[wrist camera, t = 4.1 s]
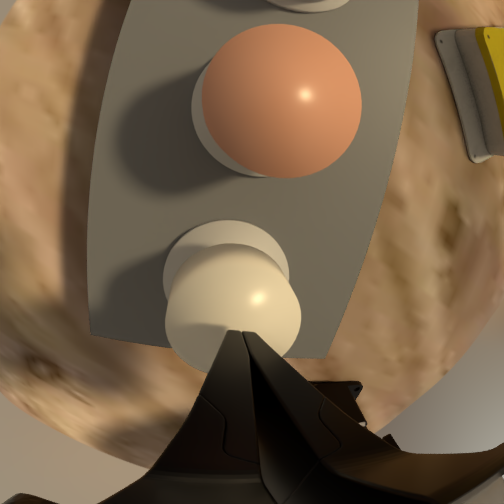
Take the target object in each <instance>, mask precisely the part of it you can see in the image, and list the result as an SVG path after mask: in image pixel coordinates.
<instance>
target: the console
mask: <svg viewBox="0 0 504 504" xmlns="http://www.w3.org/2000/svg"><path fill="white" fill-rule="evenodd" d="M418 3H419V0H131V2H130V5H129V8H128V11H127V13H126V16H125V19H124V22H123V25H122V28H121V31H120V35H119V38H118V41H117V45H116V48H115V51H114V55H113V59H112V62H111V66H110V70H109V74H108V78H107V83H106V87H105V91H104V96H103V101H102V106H101V111H100V116H99V122H98V128H97V134H96V140H95V147H94V155H93V163H92V171H91V181H90V193H89V207H88V226H87V287H88V307H89V321H90V332H91V335H95V336H100V337H105V338H110V339H116V340H121V341H127V342H133V343H139V344H146V345H152V346H159V347H166V348H172V347H171V345H170V343H169V341H168V338H167V335H166V329H165V317H166V311H167V306H168V300H169V294H170V288H171V284H172V281H173V278H174V276H175V274H176V272H177V271H178V269H179V268H180V267H181V265H182V264H183V263H184V262H185V261H186V260H187V259H188V258H190V257H191V256H192V255H194V254H195V253H197V252H199V251H200V250H203V249H205V248H207V247H210V246H214V245H218V244H224V243H236V244H244V245H248V246H252V247H254V248H257V249H259V250H261V251H263V252H265V253H266V254H267V255H269V256H270V257H271V258H272V259H273V260H274V261H276V263H277V264H278V265H279V267H280V268H281V270H282V272H283V273H284V275H285V277H286V279H287V281H288V282H289V284H290V286H291V288H292V290H293V292H294V293H295V295H296V297H297V299H298V302H299V305H300V310H301V324H300V329H299V332H298V335H297V337H296V339H295V341H294V343H293V344H292V346H291V347H290V349H289V350H288V351H287V352H286V353H285V354H284V355H283V356H282V358H317V359H325V357H326V355H327V353H328V351H329V348H330V346H331V344H332V341H333V339H334V337H335V334H336V332H337V330H338V327H339V325H340V322H341V320H342V317H343V315H344V312H345V310H346V307H347V305H348V302H349V300H350V297H351V294H352V292H353V289H354V286H355V284H356V281H357V278H358V275H359V273H360V270H361V267H362V264H363V261H364V258H365V256H366V253H367V250H368V247H369V244H370V241H371V237H372V234H373V231H374V228H375V225H376V222H377V218H378V215H379V212H380V208H381V205H382V201H383V198H384V194H385V191H386V187H387V183H388V180H389V176H390V172H391V168H392V164H393V160H394V156H395V152H396V148H397V143H398V139H399V134H400V130H401V125H402V120H403V115H404V110H405V105H406V100H407V94H408V88H409V82H410V76H411V69H412V62H413V55H414V47H415V38H416V28H417V17H418ZM268 24H287V25H294V26H298V27H302V28H305V29H308V30H310V31H313V32H315V33H317V34H319V35H321V36H322V37H324V38H325V39H327V40H328V41H330V42H331V43H332V44H333V45H334V46H335V47H336V48H338V49H339V50H340V52H341V53H342V54H343V55H344V56H345V58H346V59H347V60H348V62H349V63H350V65H351V67H352V69H353V71H354V73H355V75H356V77H357V80H358V83H359V87H360V91H361V100H362V111H361V118H360V123H359V126H358V130H357V132H356V134H355V137H354V139H353V140H352V142H351V144H350V145H349V147H348V148H347V149H346V151H345V152H344V153H343V154H342V155H341V156H340V157H339V158H338V159H337V160H336V161H335V162H333V163H332V164H331V165H329V166H328V167H326V168H324V169H322V170H320V171H318V172H316V173H313V174H310V175H307V176H302V177H296V178H276V177H269V176H265V175H262V174H258V173H256V172H254V171H251V170H249V169H247V168H245V167H243V166H242V165H240V164H238V163H237V162H236V161H234V160H233V159H232V158H230V157H229V156H228V155H227V154H226V153H225V152H224V151H223V150H222V149H221V148H220V147H219V146H218V145H217V143H216V142H215V141H214V139H213V138H212V136H211V134H210V133H209V131H208V128H207V126H206V123H205V119H204V116H203V108H202V87H203V81H204V77H205V74H206V71H207V68H208V66H209V64H210V62H211V60H212V59H213V57H214V56H215V55H216V53H217V52H218V51H219V50H220V48H221V47H222V46H223V45H224V44H225V43H227V42H228V41H229V40H230V39H232V38H233V37H234V36H236V35H238V34H240V33H241V32H243V31H246V30H248V29H251V28H254V27H257V26H261V25H268Z"/></svg>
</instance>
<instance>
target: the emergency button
mask: <svg viewBox="0 0 504 504" xmlns="http://www.w3.org/2000/svg"><path fill="white" fill-rule="evenodd" d="M435 44H436V47H437V50H438V52H439V55H440V57H441V60H442V63H443V65H444V68H445V71H446V74H447V77H448V80H449V83H450V86H451V89H452V92H453V95H454V98H455V102H456V105H457V109H458V113H459V116H460V120H461V124H462V128H463V133H464V137H465V141H466V146H467V151H468V155H469V157H470V160H471V161H473V162H474V163H481V162H483V161H485V160H487V159H488V158H490V157H492V156H494V155H499V156H504V27H478V28H472V29H455V30H443V31H440V32H438V33H436V36H435Z"/></svg>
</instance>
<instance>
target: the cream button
mask: <svg viewBox="0 0 504 504" xmlns="http://www.w3.org/2000/svg"><path fill="white" fill-rule="evenodd" d="M300 324H301V310H300V305H299V302H298V299H297V297H296V295H295V293H294V292H293V290H292V288H291V286H290V284H289V282H288V281H287V279H286V277H285V275H284V273H283V272H282V270H281V268H280V267H279V265H278V264H277V263H276V261H274V260H273V259H272V258H271V257H270V256H269V255H267V254H266V253H265V252H263V251H261V250H259V249H257V248H254V247H252V246H248V245H244V244H236V243H224V244H218V245H214V246H210V247H207V248H205V249H203V250H200V251H199V252H197V253H195V254H194V255H192V256H191V257H190V258H188V259H187V260H186V261H185V262H184V263H183V264H182V265H181V267H180V268H179V269H178V271H177V272H176V274H175V276H174V278H173V281H172V284H171V288H170V294H169V300H168V306H167V311H166V317H165V329H166V335H167V338H168V341H169V343H170V345H171V347H172V348H173V350H174V351H175V353H176V354H177V355H178V356H179V357H180V358H181V359H182V360H183V361H185V362H186V363H187V364H189V365H190V366H192V367H194V368H196V369H198V370H200V371H203V372H206V373H208V372H209V370H210V368H211V366H212V363H213V361H214V359H215V357H216V354H217V352H218V350H219V348H220V345H221V343H222V341H223V339H224V336H225V334H226V332H227V330H239V331H241V332H242V331H251V332H255V333H257V334H258V335H259V336H260V337H261V338H262V339H263V340H264V341H265V342H266V343H267V344H268V345H269V346H270V347H271V348H272V349H274V350H275V351H276V352H277V353H278V354H279V355H280V356H281V357H282V356H283V355H284V354H285V353H286V352H287V351H288V350H289V349H290V347H291V346H292V344H293V343H294V341H295V339H296V337H297V335H298V332H299V329H300Z"/></svg>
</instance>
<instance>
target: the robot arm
mask: <svg viewBox="0 0 504 504" xmlns="http://www.w3.org/2000/svg"><path fill="white" fill-rule="evenodd" d="M362 388H363V386H362V384H361V382H359V381H355V382H336V383H309V382H308V381H307V380H306V379H305V378H304V377H303V376H302V375H301V374H299V373H298V372H297V371H296V370H295V369H294V368H293V367H292V366H291V365H290V364H289V363H287V362H286V361H285V360H284V359H283V358H282V357H281V356H280V355H279V354H278V353H277V352H276V351H275V350H274V349H272V348H271V347H270V346H269V345H268V344H267V343H266V342H265V341H264V340H263V339H262V338H261V337H260V336H259V335H258V334H257V333H255V332H251V331H242V332H241V331H239V330H227V332H226V334H225V336H224V339H223V341H222V343H221V345H220V348H219V350H218V352H217V354H216V357H215V359H214V361H213V363H212V366H211V368H210V370H209V372H208V375H207V377H206V379H205V381H204V384H203V386H202V388H201V390H200V393H199V395H198V397H197V399H196V401H195V403H194V405H193V407H192V409H191V411H190V413H189V415H188V417H187V419H186V420H185V422H184V423H183V425H182V426H181V428H180V430H179V431H178V432H177V434H176V435H175V437H174V438H173V439H172V441H171V442H170V444H169V445H168V446H167V448H166V449H165V450H164V452H163V453H162V455H161V456H160V457H159V459H158V460H157V461H156V462H155V464H154V465H153V466H152V467H151V468H150V470H149V471H148V472H147V473H146V474H145V475H144V476H142V477H141V478H140V479H138V480H137V481H135V482H134V483H132V484H130V485H129V486H127V487H125V488H124V489H122V490H120V491H119V492H117V493H115V494H114V495H112V496H110V497H108V498H107V499H105V500H103V501H101V502H100V503H98V504H504V479H503V478H502V475H503V474H504V443H502V444H500V445H499V446H497V447H496V448H493V449H491V450H488V451H483V452H475V453H458V454H416V453H409V452H405V451H402V450H400V448H399V446H398V445H397V443H396V442H395V440H394V439H393V437H392V436H391V434H388V435H386V436H384V437H383V439H381V438H380V437H378V436H377V435H375V434H374V433H372V432H371V431H369V430H368V429H367V427H366V425H367V421H366V420H365V418H364V416H363V414H362V412H361V410H360V408H359V406H358V404H357V403H356V401H355V400H356V398H357V397H358V395H359V394H360V392H361V390H362ZM2 504H58V503H55V502H52V501H49V500H46V499H43V498H40V497H37V496H34V495H30V494H23V493H19V494H15V495H14V496H12V497H11V498H10V499H8V500H7V501H5V502H4V503H2Z"/></svg>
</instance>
